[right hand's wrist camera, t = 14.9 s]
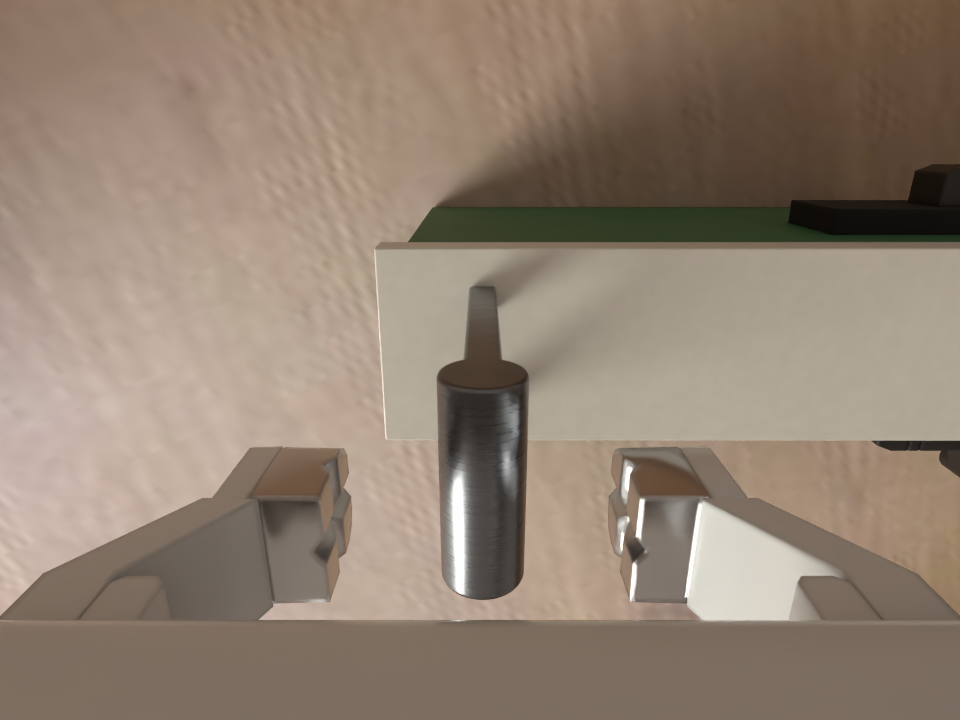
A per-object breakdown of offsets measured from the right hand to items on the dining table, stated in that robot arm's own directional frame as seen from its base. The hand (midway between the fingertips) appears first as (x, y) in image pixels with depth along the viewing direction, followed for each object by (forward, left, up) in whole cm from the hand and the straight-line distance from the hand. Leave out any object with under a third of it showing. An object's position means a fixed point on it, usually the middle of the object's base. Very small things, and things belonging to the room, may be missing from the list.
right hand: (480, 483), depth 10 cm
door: (+4, +5, -8) cm, 10 cm away
